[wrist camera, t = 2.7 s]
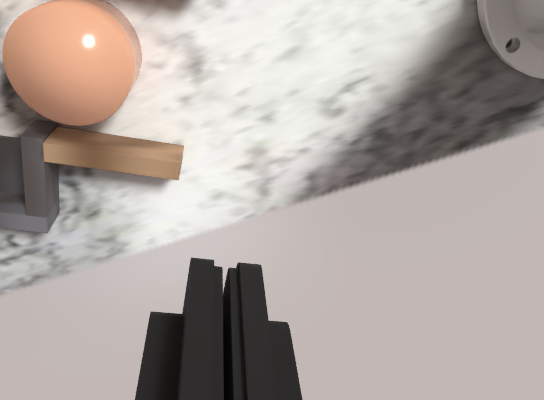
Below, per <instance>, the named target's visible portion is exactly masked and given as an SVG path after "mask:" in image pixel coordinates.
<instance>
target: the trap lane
mask: <svg viewBox="0 0 544 400" xmlns="http://www.w3.org/2000/svg"><path fill="white" fill-rule="evenodd" d="M20 138H21V139H20ZM20 138H13V137H6V136H0V228H5V229H14V230H23V231H32V232H41V233H48V231H49V230H50V228H51V226H52V224H53V223H54V221H55V219H56V217H57V216H58V214H59V180H58V164H65V165H72V166H80V167H87V168H94V169H101V170H109V171H116V172H123V173H130V174H137V175H145V176H152V177H159V178H166V179H173V180H179V175H180V169H181V164H182V157H183V148H184V146H182V145H175V144H169V143H162V142H156V141H149V140H143V139H136V138H129V137H123V136H116V135H110V134H103V133H97V132H90V131H84V130H77V129H70V128H64V127H57V123H51V122H44V121H38V120H36V121H35V122H34V123H33V124H32V125H31V126H30V127H29V128H28V129H27V130H26V131H25V132H24V133H23V134H22V135H21V136H20Z"/></svg>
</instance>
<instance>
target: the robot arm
mask: <svg viewBox="0 0 544 400" xmlns="http://www.w3.org/2000/svg"><path fill="white" fill-rule="evenodd" d="M477 8H478V17H479V20H480V24H481V28H482V31H483V34H484V36H485V38H486V40H487V41H488V43H489V45H490V47H491V49H492V50H493V51H494V52H495V53H496V54H497V55H498V56H499V58H500V59H501V60H502V61H503V62H505V63H506V64H508V65H510V66H511V67H513V68H514V69H516V70H518V71H520V72H522V73H525V74H527V75H529V76H531V77H536V78H541V79H544V0H477ZM507 42H508V43H507ZM506 44H507V45H506ZM262 275H263V274H262V267H261V265H258V264H247V263H238V264H237V267H236V268H229V269H228V272H227V277H226V282H225V287H224V292H223V284H222V283H223V282H222V281H223V279H222V267H217V266H214V260H209V259H208V260H207V259H199V258H191V261H190V267H189V274H188V281H187V287H186V293H185V300H184V307H183V313H182V314H174V313H161V312H151V313H150V318H149V323H148V329H147V335H146V341H145V347H144V352H143V358H142V363H141V369H140V374H139V380H138V386H137V391H136V397H135V400H302V395H301V390H300V384H299V378H298V373H297V367H296V361H295V356H294V350H293V344H292V339H291V333H290V328H289V325H288V323H287V322H278V321H268V314H267V306H266V298H265V290H264V282H263V276H262Z"/></svg>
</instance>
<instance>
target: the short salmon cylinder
mask: <svg viewBox="0 0 544 400" xmlns="http://www.w3.org/2000/svg"><path fill="white" fill-rule="evenodd" d="M3 62H4V67H5V71H6V74H7V76H8V79H9V81H10V83H11V85H12V86H13V88H14V90H15V91H16V92H17V94H18V95H19V96H20V98H21V99H22V100H23V101H24V102H25V103H26V104H27V105H28V106H30V107H31V108H32V109H33V110H35V111H36V112H37V113H39V114H41V115H42V116H44V117H46V118H48V119H50V120H53V121H56V122H59V123H62V124H67V125H75V126H83V125H91V124H95V123H98V122H100V121H103V120H105V119H107V118H108V117H110V116H111V115H112V114H114V113H115V112H116V111H117V110H118V109H119V107H120V106H121V105H122V103H123V102H124V100H125V98H126V96H127V95H128V93H129V91H130V89H131V88H132V86H133V84H134V82H135V81H136V79H137V77H138V74H139V72H140V68H141V62H142V53H141V46H140V42H139V39H138V36H137V34H136V32H135V30H134V28H133V26H132V25H131V23H130V22H129V20H128V19H127V18H126V17H125V16H124V15H123V14H122V13H121V12H120V11H119V10H118V9H117V8H116V7H114V6H113V5H111V4H110V3H108V2H106V1H104V0H51V1H48V2H46V3H44V4H42V5H39V6H37V7H35V8H33V9H31V10H28V11H26V12H25V13H23V14H22V15H20V16H19V17H18V18H17V19H16V20H15V21H14V22H13V23H12V25H11V26H10V28H9V30H8V32H7V34H6V36H5V40H4V44H3Z"/></svg>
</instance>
